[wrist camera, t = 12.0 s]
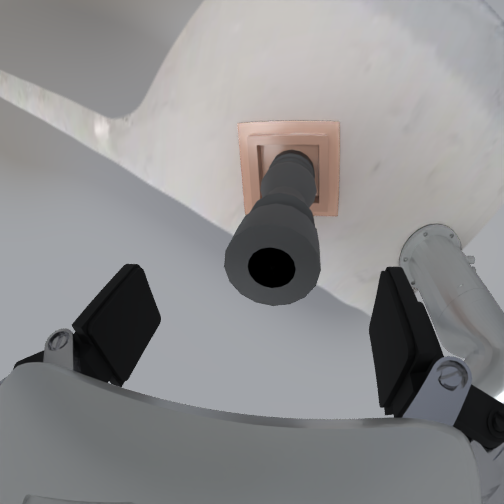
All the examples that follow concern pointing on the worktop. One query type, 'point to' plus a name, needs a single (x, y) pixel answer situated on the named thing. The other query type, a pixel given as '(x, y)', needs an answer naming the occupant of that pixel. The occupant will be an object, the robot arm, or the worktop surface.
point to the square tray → (296, 138)
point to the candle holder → (278, 236)
